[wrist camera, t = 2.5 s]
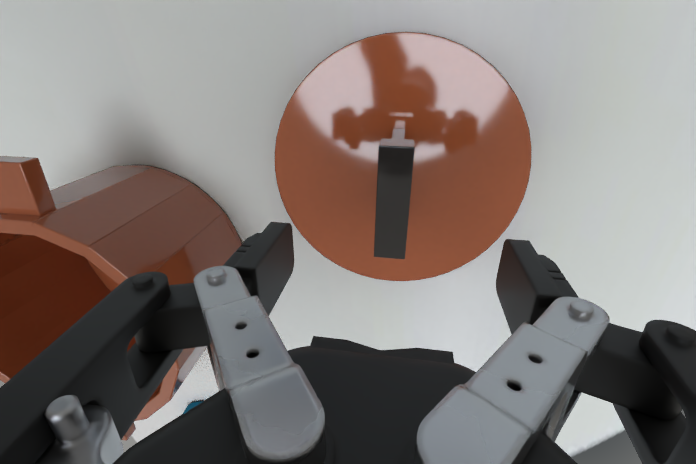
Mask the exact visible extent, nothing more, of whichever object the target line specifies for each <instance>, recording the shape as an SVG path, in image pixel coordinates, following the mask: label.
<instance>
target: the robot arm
mask: <svg viewBox="0 0 696 464" xmlns="http://www.w3.org/2000/svg"><path fill="white" fill-rule="evenodd" d="M293 267H294V250H293V235H292V226H291V224H290V223H279V222H271V223H270V224H269V225H268V226H267V227H266V228H265V230H264V231H263V232H262V233H256V234H254V235H252V236H251V237H249V238H247V239H246V240H245V241H244V242H243V243H242V245H241V246H240V247H239V248H238V249H237V250H236V252H234V254H233V255H232V256H231V257H230V258H229V259H228V260H227V261H226V262H225V264H224V265H223V266H215V267H211V268H208V269H205V270H203V271H201V272H199V273H198V274H197V275H196V276H195V278H194V280H193V281H194V283H186V284H176V285H169V282H168V278H167V276H166V275H165V274H164V273H161V272H144V273H140V274H137V275H134V276H132V277H130V278H128V279H126V280H124V281H123V282H122V283H121V284H120V285H118V286H117V287H116V288H115V289H114V290H113V291H112V292H110V293H109V294H108V295H107V296H106V297H105V298H103V299H102V300H101V301H100V302H99V303H98V304H97V305H95V306H94V307H93V308H92V309H91V310H90V311H88V312H87V313H86V314H85V315H84V316H83V317H82V318H80V319H79V320H78V321H77V322H76V323H75V324H73V325H72V326H71V327H70V328H69V329H68V330H66V331H65V332H64V333H63V334H62V335H61V336H60V337H58V338H57V339H56V340H55V341H54V342H53V343H51V344H50V345H49V346H48V347H47V348H46V349H45V350H43V351H42V352H41V353H40V354H39V355H38V356H36V357H35V358H34V359H33V360H32V361H31V362H30V363H28V364H27V365H26V366H25V367H24V368H23V369H21V370H20V371H19V372H18V373H17V374H16V375H15V376H13V377H12V378H11V379H10V380H9V381H8V382H6V383H5V384H4V385H3V386H2V387H1V388H0V464H577V463H576V462H575V461H574V460H573V459H572V458H571V457H570V456H569V455H568V454H567V453H566V452H565V451H563V450H562V449H561V448H560V447H559V446H558V445H557V444H556V443H555V440H556V438H557V436H558V434H559V432H560V430H561V428H562V427H563V425H564V423H565V421H566V420H567V418H568V416H569V414H570V413H571V411H572V409H573V407H574V406H575V404H576V402H577V400H578V399H579V397H580V395H581V392H582V393H585V394H588V395H591V396H594V397H597V398H600V399H603V400H605V401H608V402H611V403H613V405H614V408H615V410H616V412H617V414H618V416H619V418H620V420H621V422H622V424H623V426H624V428H625V430H626V432H627V434H628V435H629V438H630V440H631V441H632V444H633V446H634V447H635V450H636V452H637V454H638V456H639V458H640V460H641V461H642V464H696V331H695V330H693V329H691V328H689V327H686V326H684V325H681V324H678V323H675V322H671V321H665V320H653V321H650V322H648V323H647V324H646V326H645V328H644V331H643V332H639V331H635V330H632V329H628V328H624V327H621V326H617V325H614V324H611V323H609V321H610V320H609V316H608V314H607V313H606V312H605V311H604V310H603V309H602V308H600V307H599V306H597V305H596V304H594V303H592V302H589V301H587V300H584V299H580V298H579V297H578V296H577V294H576V293H575V291H574V290H573V288H572V287H571V285H570V284H569V283H568V281H567V280H566V278H565V277H564V275H563V274H562V273H561V271H560V269H559V268H558V266H557V265H556V264H555V263H554V262H553V261H552V260H550V259H549V258H547V257H546V256H544V255H538V254H537V253H536V251H535V249H534V248H533V246H532V245H531V243H530V242H529V241H525V240H511V239H506V240H505V242H504V245H503V250H502V254H501V259H500V264H499V269H498V273H497V279H496V290H497V294H498V297H499V300H500V303H501V306H502V308H503V311H504V314H505V317H506V320H507V322H508V325H509V328H510V331H511V334H512V335H511V336H510V337H509V338H508V339H507V340H506V341H505V342H504V344H503V345H502V346H501V347H500V348H499V349H498V350H497V351H496V352H495V353H494V354H493V355H492V356H491V357H490V358H489V359H488V361H487V362H486V363H485V364H484V365H483V366H482V367H481V368H480V369H479V370H478V371H477V372H474V371H473V370H471V369H469V368H466V367H464V366H462V365H459V364H456V363H454V359H453V352H449V351H440V350H431V349H422V348H409V349H396V350H377V349H374V348H371V347H367V346H364V345H361V344H358V343H355V342H351V341H348V340H343V339H334V338H325V337H316V336H313V339H312V342H311V345H310V346H306V347H300V348H296V349H292V350H289V351H287V350H286V348H285V346H284V344H283V342H282V340H281V338H280V337H279V335H278V333H277V331H276V329H275V327H274V326H273V324H272V322H271V320H270V318H269V314H270V313H271V311H272V309H273V307H274V305H275V303H276V302H277V300H278V298H279V296H280V294H281V292H282V291H283V289H284V287H285V285H286V283H287V281H288V280H289V278H290V276H291V274H292V271H293ZM133 337H135V340H136V342H135V344H134V345H133V346H132V347H131V348H130V349H129V350H128V352H127V349H128V345H129V343H130V341H131V340H132V338H133ZM203 346H207V349H208V353H209V357H210V360H211V364H212V367H213V371H214V375H215V378H216V382H217V385H218V389H219V392H217V393H216V394H214V395H213V396H211V397H209V398H208V399H206V400H205V401H203V402H201V403H200V404H198V405H197V406H195V407H193V408H192V409H190V410H189V411H187V412H186V413H184V414H182V415H181V416H179V417H178V418H176V419H174V420H173V421H171V422H170V423H168V424H166V425H165V426H163V427H162V428H160V429H158V430H157V431H155V432H154V433H152V434H150V435H149V436H147V437H146V438H144V439H142V440H141V441H139V442H138V443H136V444H135V445H134V446H132V447H131V448H129V449H128V450H127V451H126V452H124V453H123V445H122V442H121V440H122V438H123V437H124V435H125V434H126V432H127V431H128V430H129V428H130V427H131V425H132V424H133V422H134V421H135V419H136V418H137V416H138V415H139V414H140V412H141V411H142V409H143V408H144V406H145V405H146V403H147V402H148V400H149V399H150V397H151V396H152V395H153V393H154V392H155V390H156V389H157V387H158V386H159V384H160V383H161V381H162V380H163V379H164V377H165V376H166V374H167V373H168V371H169V370H170V368H171V367H172V365H173V364H174V363H175V361H176V360H177V358H178V357H179V355H180V354H181V352H182V351H183V349H187V348H195V347H203ZM682 409H683V411H684V413H685V417H686V418H685V417H684V415H683V414H682V413H681V411H682Z"/></svg>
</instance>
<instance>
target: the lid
mask: <svg viewBox="0 0 696 464" xmlns="http://www.w3.org/2000/svg"><path fill="white" fill-rule="evenodd" d="M530 168H531V141H530V133H529V128H528V124H527V121H526V117H525V114H524V111H523V109H522V107H521V105H520V102H519V100H518V98H517V96H516V94H515V93H514V91H513V90H512V88H511V87H510V85H509V84H508V82H507V81H506V80H505V78H504V77H503V76H502V75H501V74H500V73H499V72H498V71H497V70H496V68H495V67H494V66H492V65H491V64H490V63H489V62H488V61H486V60H485V59H484V58H483V57H481V56H480V55H479V54H477V53H476V52H474V51H472V50H470V49H469V48H467V47H465V46H464V45H462V44H459V43H457V42H454V41H451V40H449V39H446V38H444V37H439V36H435V35H431V34H426V33H415V32H396V33H385V34H380V35H376V36H371V37H367V38H364V39H362V40H359V41H356V42H354V43H351V44H349V45H347V46H345V47H343V48H342V49H340V50H338V51H336V52H334V53H333V54H331V55H330V56H329V57H327V58H326V59H325V60H323V61H322V62H321V63H319V64H318V65H317V66H316V67H315V68H314V69H313V70H312V71H311V72H310V73H309V74H308V75H307V76H306V77H305V79H304V80H303V81H302V82H301V84H300V85H299V86H298V88H297V89H296V90H295V92H294V94H293V96H292V97H291V99H290V101H289V103H288V104H287V106H286V109H285V111H284V114H283V116H282V119H281V122H280V125H279V129H278V133H277V138H276V147H275V171H276V178H277V184H278V188H279V192H280V195H281V199H282V201H283V203H284V206H285V208H286V211H287V213H288V214H289V216H290V218H291V220H292V221H293V223H294V225H295V226H296V228H297V229H298V230H299V232H300V233H301V234H302V236H303V237H304V238H305V239H306V240H307V241H308V242H309V243H310V244H311V245H312V246H313V247H314V248H315V249H316V250H317V251H319V252H320V253H321V254H322V255H323V256H325V257H326V258H328V259H329V260H331V261H332V262H334V263H335V264H337V265H339V266H341V267H343V268H345V269H347V270H349V271H352V272H355V273H357V274H360V275H363V276H367V277H371V278H375V279H382V280H389V281H410V280H420V279H426V278H431V277H435V276H438V275H441V274H445V273H447V272H450V271H452V270H454V269H457V268H459V267H461V266H463V265H465V264H466V263H468V262H470V261H471V260H473V259H475V258H476V257H477V256H479V255H480V254H481V253H483V252H484V251H485V250H487V249H488V248H489V247H490V246H491V245H492V244H493V243H494V242H495V241H496V240H497V239H498V238H499V237H500V236H501V234H502V233H503V232H504V231H505V229H506V228H507V227H508V226H509V224H510V222H511V221H512V219H513V218H514V216H515V214H516V213H517V211H518V208H519V206H520V204H521V202H522V200H523V198H524V194H525V191H526V188H527V184H528V181H529V175H530Z"/></svg>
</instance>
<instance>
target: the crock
mask: <svg viewBox="0 0 696 464" xmlns="http://www.w3.org/2000/svg"><path fill="white" fill-rule="evenodd" d="M241 245H242V244H241V241H240V238H239V236H238V234H237V232H236V230H235V228H234V226H233V224H232V223H231V221H230V220H229V218H228V216H227V215H226V214H225V213H224V211H223V210H222V209H221V208H220V206H219V205H218V204H217V203H216V202H215V201H214V200H213V199H212V198H211V197H210V196H209V195H207V194H206V193H205V192H204V191H202V190H201V189H200V188H199V187H197V186H196V185H194V184H193V183H191V182H190V181H188V180H186V179H184V178H182V177H180V176H178V175H177V174H174V173H171V172H169V171H166V170H164V169H160V168H156V167H152V166H145V165H123V166H113V167H110V168H108V169H105V170H103V171H100V172H98V173H95V174H92V175H90V176H87V177H85V178H82V179H79V180H77V181H74V182H72V183H69V184H66V185H64V186H61V187H59V188H56V189H54V190H51V191H50V190H49V187H48V184H47V181H46V179H45V176H44V173H43V170H42V168H41V165H40V162H39V159H38V158H30V157H11V156H0V380H1V381H2V382H4V383H6V382H8V381H9V380H10V379H11V378H12V377H13V376H15V375H16V374H17V373H18V372H19V371H20V370H21V369H23V368H24V367H25V366H26V365H27V364H28V363H30V362H31V361H32V360H33V359H34V358H35V357H36V356H38V355H39V354H40V353H41V352H42V351H43V350H45V349H46V348H47V347H48V346H49V345H50V344H51V343H53V342H54V341H55V340H56V339H57V338H58V337H60V336H61V335H62V334H63V333H64V332H65V331H66V330H68V329H69V328H70V327H71V326H72V325H73V324H75V323H76V322H77V321H78V320H79V319H80V318H82V317H83V316H84V315H85V314H86V313H87V312H88V311H90V310H91V309H92V308H93V307H94V306H95V305H97V304H98V303H99V302H100V301H101V300H102V299H103V298H105V297H106V296H107V295H108V294H109V293H110V292H112V291H113V290H114V289H115V288H116V287H117V286H118V285H120V284H121V283H122V282H123V281H124V280H126V279H128V278H130V277H132V276H134V275H137V274H140V273H144V272H161V273H164V274H165V275H166V276H167V278H168V282H169V285H176V284H186V283H194V281H193V280H194V278H195V276H196V275H197V274H198V273H199V272H201V271H203V270H205V269H208V268H211V267H215V266H223V265H224V264H225V262H226V261H227V260H228V259H229V258H230V257H231V256H232V255H233V254H234V252H236V250H237V249H238V248H239V247H240V246H241ZM135 342H136V340H135V337H133V338H132V340H131V341H130V343H129V345H128V349H127V352H128V350H129V349H130V348H131V347H132V346H133V345H134V344H135ZM206 348H207V346H203V347H195V348H187V349H183V351H182V352H181V354H180V355H179V357H178V358H177V360H176V361H175V363H174V364H173V365H172V367H171V368H170V370H169V371H168V373H167V374H166V376H165V377H164V379H163V380H162V381H161V383H160V384H159V386H158V387H157V389H156V390H155V392H154V393H153V395H152V396H151V397H150V399H149V400H148V402H147V403H146V405H145V406H144V408H143V409H142V411H141V412H140V414H139V415H138V416H137V418H136V419H135V421H137V420H143V419H147V418H148V417H150V416H151V415H152V414H153V413H155V412H156V411H157V410H159V409H160V408H161V407H162V406H164V405H165V404H166V403H168V402H169V401H170V400H171V399H172V397H173V396H174V394H175V393H176V391H177V390H178V389H179V387H180V386H181V384H182V383H183V381H184V380H185V378H186V377H187V375H188V374H189V373H190V371H191V370H192V368H193V367H194V365H195V364H196V362H197V361H198V359H199V358H200V356H201V355H202V354H203V352H204V351H205V349H206ZM135 429H136V428H135V425H134V422H133V424H132V425H131V427H130V428H129V430H128V431H127V432H126V434H125V435H124V437H123V438H122V440H128V439H129V437H130V436H131V434H132V433H133V432H134V430H135Z"/></svg>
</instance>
